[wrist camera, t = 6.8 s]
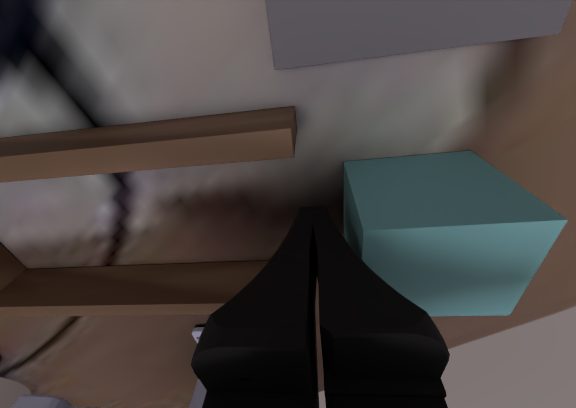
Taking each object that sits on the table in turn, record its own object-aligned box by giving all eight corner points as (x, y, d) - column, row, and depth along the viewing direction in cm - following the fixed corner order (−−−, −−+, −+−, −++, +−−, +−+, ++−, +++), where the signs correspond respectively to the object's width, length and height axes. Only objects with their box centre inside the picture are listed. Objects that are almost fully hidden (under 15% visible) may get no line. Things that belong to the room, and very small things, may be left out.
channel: (310, 270, 16) (311, 313, 14) (24, 279, 18) (-20, 317, 16) (294, 106, 11) (290, 128, 8) (-111, 150, 13) (-209, 177, 11)
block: (447, 229, 14) (509, 315, 9) (343, 234, 14) (358, 317, 10) (470, 150, 11) (567, 219, 7) (343, 161, 12) (363, 230, 8)
